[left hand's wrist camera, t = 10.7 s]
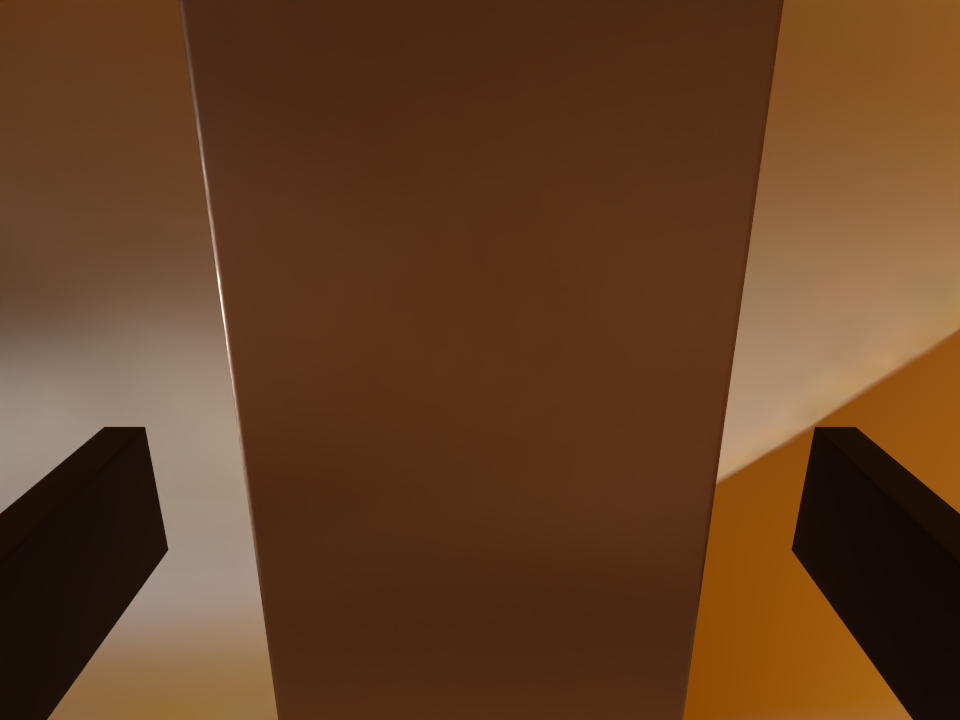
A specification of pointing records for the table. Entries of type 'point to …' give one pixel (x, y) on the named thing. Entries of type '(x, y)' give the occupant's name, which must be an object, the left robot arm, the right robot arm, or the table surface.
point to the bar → (480, 336)
